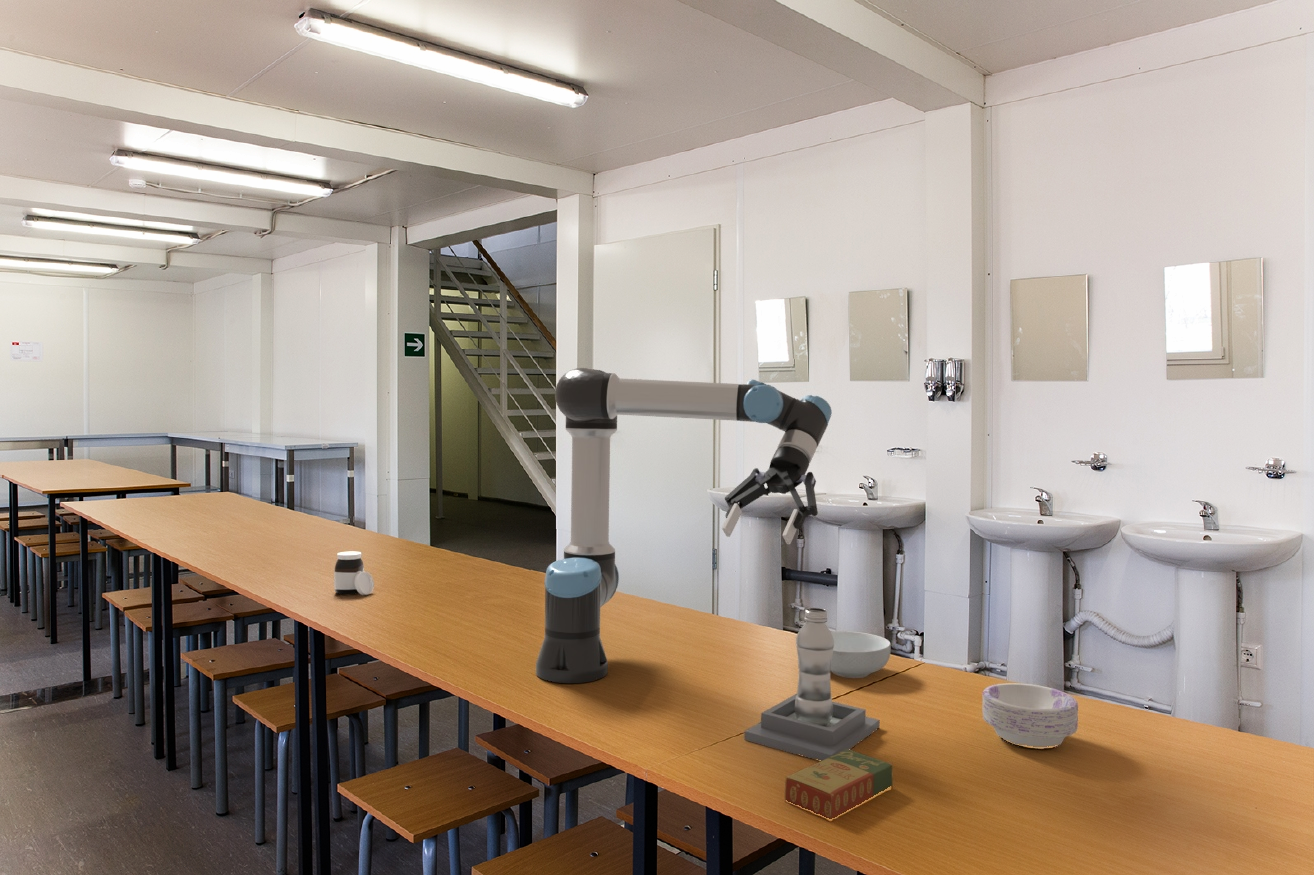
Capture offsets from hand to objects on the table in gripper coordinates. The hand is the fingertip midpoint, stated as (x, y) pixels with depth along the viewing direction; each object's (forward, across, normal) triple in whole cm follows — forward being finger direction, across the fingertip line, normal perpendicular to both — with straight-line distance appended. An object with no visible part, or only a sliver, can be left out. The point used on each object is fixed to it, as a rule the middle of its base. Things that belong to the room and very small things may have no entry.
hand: (755, 536), depth 168 cm
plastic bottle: (+28, -18, -14) cm, 37 cm away
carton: (+44, -32, -2) cm, 54 cm away
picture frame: (+30, -18, -15) cm, 38 cm away
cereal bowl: (+4, -9, -42) cm, 43 cm away
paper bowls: (+15, -49, -30) cm, 59 cm away
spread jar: (+20, +138, -25) cm, 141 cm away
